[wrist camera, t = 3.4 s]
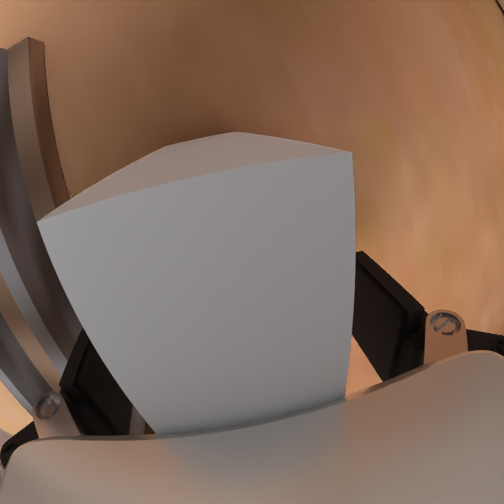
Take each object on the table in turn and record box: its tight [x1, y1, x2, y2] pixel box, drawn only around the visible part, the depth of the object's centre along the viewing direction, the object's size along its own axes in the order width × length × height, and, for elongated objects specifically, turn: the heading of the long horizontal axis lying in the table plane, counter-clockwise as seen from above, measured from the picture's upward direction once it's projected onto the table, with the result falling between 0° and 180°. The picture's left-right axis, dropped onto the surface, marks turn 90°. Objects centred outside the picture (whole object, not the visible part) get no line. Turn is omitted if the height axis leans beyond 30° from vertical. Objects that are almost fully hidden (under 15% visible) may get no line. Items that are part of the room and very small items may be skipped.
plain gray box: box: [37, 131, 356, 435], centre depth 9 cm, size 12×3×10 cm, turn 9°
